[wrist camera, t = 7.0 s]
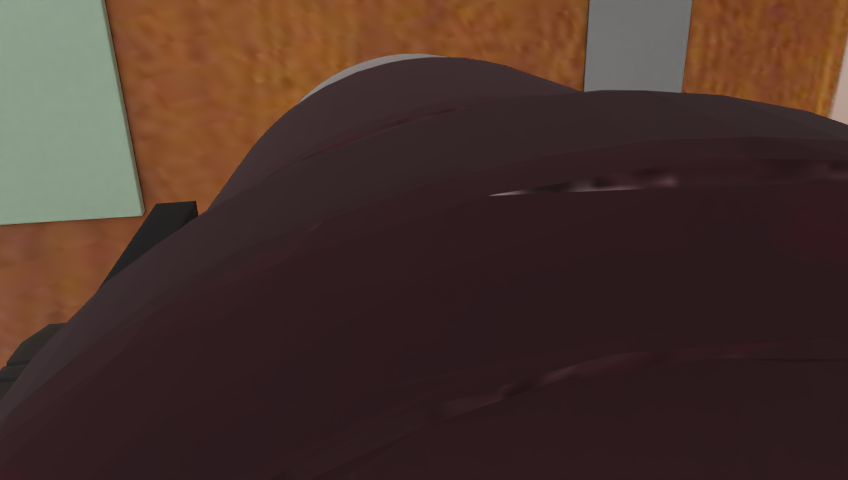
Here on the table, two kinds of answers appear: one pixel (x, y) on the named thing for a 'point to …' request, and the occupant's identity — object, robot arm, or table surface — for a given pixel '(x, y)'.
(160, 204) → the robot arm
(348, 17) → the table surface
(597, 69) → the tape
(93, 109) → the mat
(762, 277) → the coffee cup
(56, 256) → the table surface
